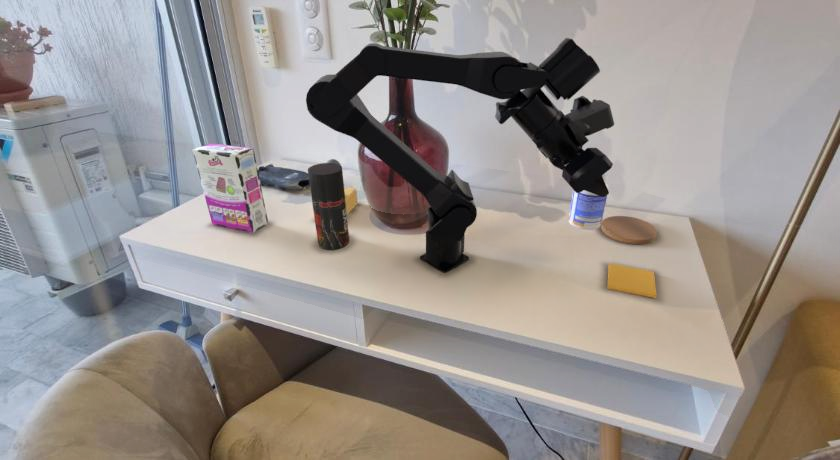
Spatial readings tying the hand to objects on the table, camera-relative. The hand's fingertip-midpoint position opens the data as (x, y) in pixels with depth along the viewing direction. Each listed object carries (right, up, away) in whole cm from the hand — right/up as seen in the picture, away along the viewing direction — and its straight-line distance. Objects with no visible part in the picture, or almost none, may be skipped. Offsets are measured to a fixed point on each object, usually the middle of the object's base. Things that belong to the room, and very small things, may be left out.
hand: (599, 188), depth 72 cm
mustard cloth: (+5, -15, -1) cm, 16 cm away
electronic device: (-64, +5, +38) cm, 75 cm away
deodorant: (-46, -9, +12) cm, 49 cm away
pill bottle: (-1, -6, +3) cm, 7 cm away
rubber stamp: (-48, -3, +24) cm, 53 cm away
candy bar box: (-67, -6, +19) cm, 70 cm away
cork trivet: (+11, -7, +14) cm, 20 cm away
